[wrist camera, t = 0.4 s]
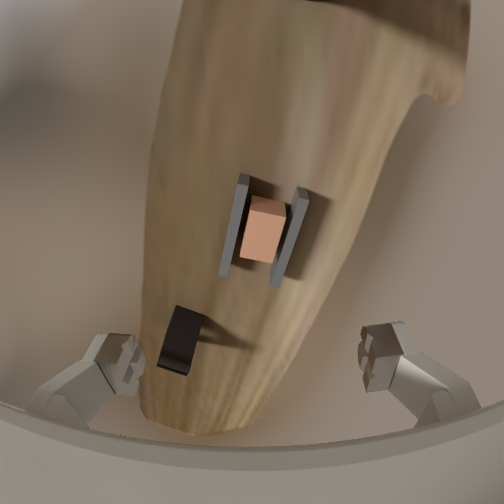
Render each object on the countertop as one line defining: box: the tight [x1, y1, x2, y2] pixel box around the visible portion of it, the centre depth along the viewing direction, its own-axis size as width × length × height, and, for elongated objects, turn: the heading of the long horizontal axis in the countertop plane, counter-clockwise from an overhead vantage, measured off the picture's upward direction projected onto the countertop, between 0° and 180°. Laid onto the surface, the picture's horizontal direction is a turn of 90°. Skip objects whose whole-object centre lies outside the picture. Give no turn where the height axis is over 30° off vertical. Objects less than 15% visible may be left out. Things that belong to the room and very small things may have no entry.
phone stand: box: [157, 306, 204, 376], centre depth 59 cm, size 9×6×12 cm, turn 156°
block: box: [240, 195, 286, 263], centre depth 47 cm, size 8×5×5 cm, turn 168°
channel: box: [219, 173, 310, 287], centre depth 48 cm, size 16×10×4 cm, turn 167°
